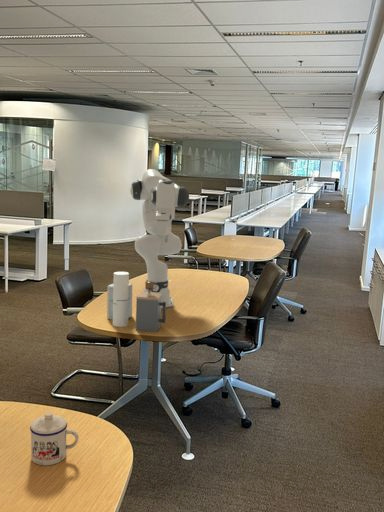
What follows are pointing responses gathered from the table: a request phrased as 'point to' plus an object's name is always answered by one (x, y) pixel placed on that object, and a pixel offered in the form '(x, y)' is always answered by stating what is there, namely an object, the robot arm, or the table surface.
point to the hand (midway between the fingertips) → (164, 244)
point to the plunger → (149, 286)
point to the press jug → (149, 311)
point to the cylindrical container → (120, 299)
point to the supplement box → (110, 301)
